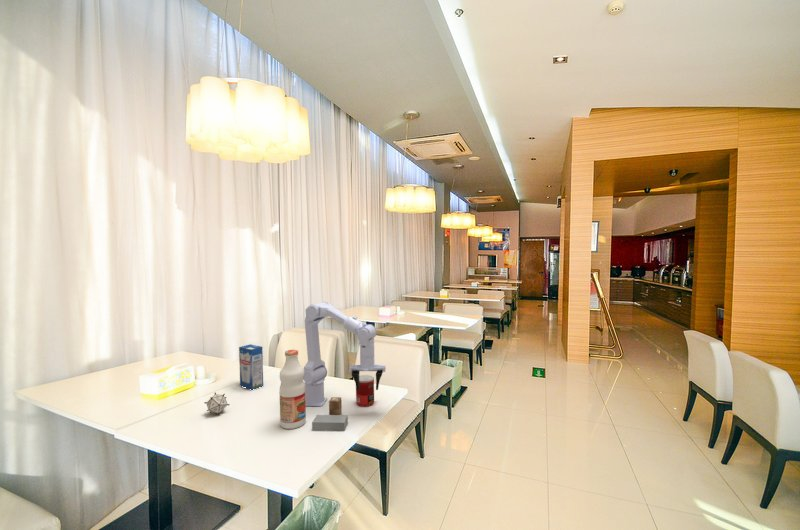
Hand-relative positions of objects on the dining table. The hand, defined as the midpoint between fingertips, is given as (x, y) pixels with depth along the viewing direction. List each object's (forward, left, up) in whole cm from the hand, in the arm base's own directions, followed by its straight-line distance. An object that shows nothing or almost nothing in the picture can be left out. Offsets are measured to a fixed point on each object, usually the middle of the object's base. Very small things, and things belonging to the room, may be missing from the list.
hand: (367, 388), depth 138 cm
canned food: (-3, +10, -10) cm, 15 cm away
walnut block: (-13, -3, -10) cm, 17 cm away
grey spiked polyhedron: (-63, -1, -10) cm, 64 cm away
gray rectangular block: (-13, -11, -10) cm, 19 cm away
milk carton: (-63, +28, -10) cm, 70 cm away
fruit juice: (-28, -9, -10) cm, 31 cm away
